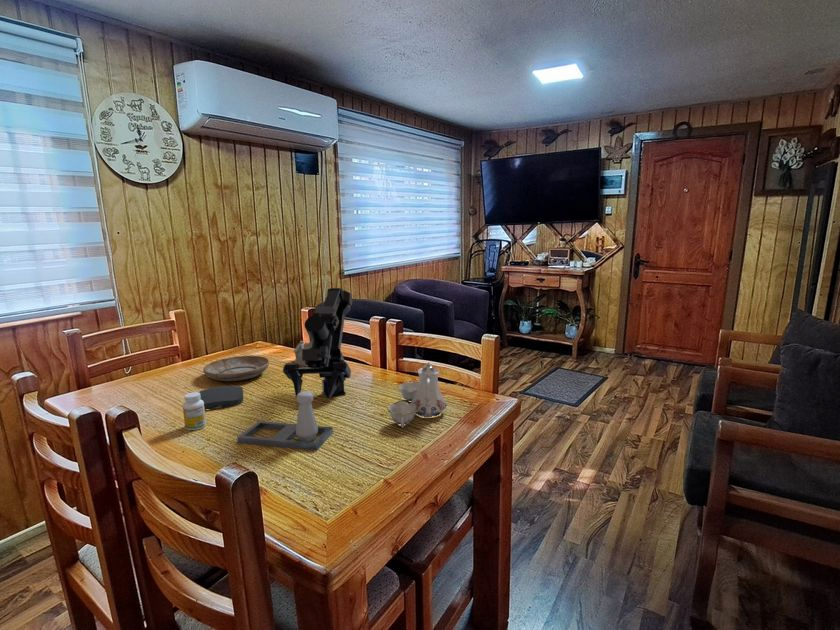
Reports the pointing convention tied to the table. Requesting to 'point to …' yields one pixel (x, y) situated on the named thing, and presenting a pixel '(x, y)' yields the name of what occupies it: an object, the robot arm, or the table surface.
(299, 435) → the salt shaker
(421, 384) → the chinaware
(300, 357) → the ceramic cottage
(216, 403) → the media streaming box
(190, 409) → the supplement bottle
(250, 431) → the hole plate
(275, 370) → the table surface
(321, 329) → the robot arm
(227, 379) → the ceramic bowl
